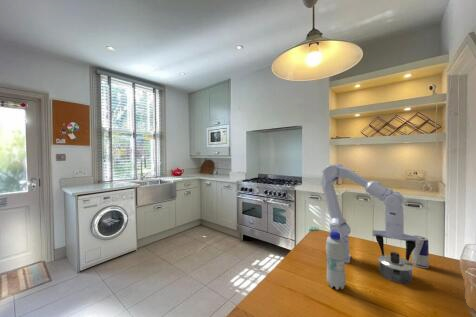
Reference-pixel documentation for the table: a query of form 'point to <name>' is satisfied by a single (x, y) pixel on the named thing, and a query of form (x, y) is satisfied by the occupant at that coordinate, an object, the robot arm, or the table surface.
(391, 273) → the pot
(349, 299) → the table surface
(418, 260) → the energy drink
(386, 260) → the lid
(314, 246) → the table surface
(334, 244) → the bottle
